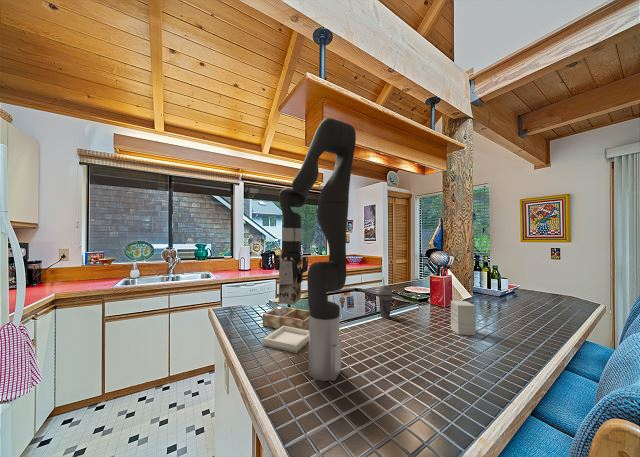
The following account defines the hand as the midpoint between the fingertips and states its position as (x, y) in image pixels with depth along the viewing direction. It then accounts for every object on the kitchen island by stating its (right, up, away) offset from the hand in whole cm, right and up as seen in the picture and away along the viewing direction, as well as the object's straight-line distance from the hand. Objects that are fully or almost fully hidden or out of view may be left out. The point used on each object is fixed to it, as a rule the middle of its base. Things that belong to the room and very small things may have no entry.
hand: (290, 282), depth 94 cm
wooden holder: (-2, -23, +18) cm, 29 cm away
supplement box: (+74, -25, +12) cm, 79 cm away
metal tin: (-7, -23, +20) cm, 31 cm away
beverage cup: (+45, -25, +30) cm, 60 cm away
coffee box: (0, -8, 0) cm, 8 cm away
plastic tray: (-1, -23, 0) cm, 23 cm away
